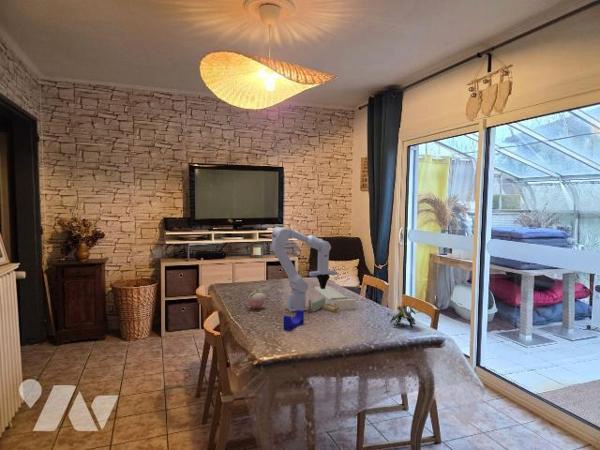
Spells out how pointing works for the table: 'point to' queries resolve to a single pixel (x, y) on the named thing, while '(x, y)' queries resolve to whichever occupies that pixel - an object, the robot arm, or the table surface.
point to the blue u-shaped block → (293, 320)
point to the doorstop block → (331, 308)
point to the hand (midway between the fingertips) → (322, 288)
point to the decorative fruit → (256, 299)
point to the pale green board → (341, 304)
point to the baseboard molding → (330, 293)
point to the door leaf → (317, 304)
